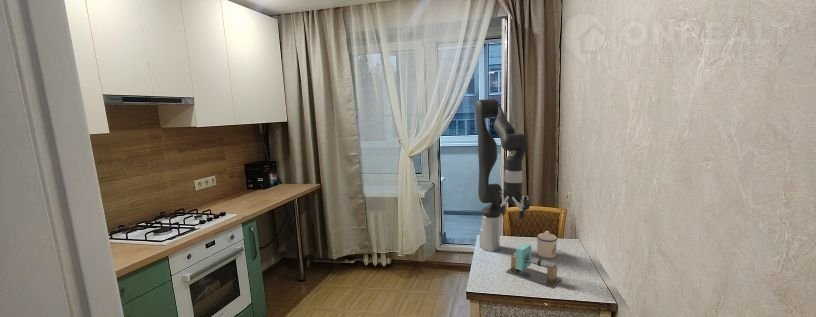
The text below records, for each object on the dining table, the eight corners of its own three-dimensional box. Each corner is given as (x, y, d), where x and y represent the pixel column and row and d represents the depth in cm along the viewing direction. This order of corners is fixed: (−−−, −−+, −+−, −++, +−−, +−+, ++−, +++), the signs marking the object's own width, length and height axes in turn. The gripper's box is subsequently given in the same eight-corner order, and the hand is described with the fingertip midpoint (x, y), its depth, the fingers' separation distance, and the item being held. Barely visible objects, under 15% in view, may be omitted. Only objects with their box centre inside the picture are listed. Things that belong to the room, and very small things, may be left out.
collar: (515, 268, 154) (516, 248, 153) (524, 262, 160) (524, 243, 158) (522, 270, 152) (522, 250, 151) (530, 264, 158) (531, 244, 156)
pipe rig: (506, 272, 157) (506, 254, 156) (516, 265, 163) (516, 248, 162) (551, 288, 143) (552, 267, 142) (561, 280, 149) (561, 260, 148)
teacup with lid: (556, 259, 169) (557, 235, 168) (535, 256, 173) (536, 233, 171) (556, 250, 180) (557, 227, 178) (537, 247, 184) (538, 225, 182)
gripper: (493, 179, 157) (493, 215, 159) (524, 184, 147) (523, 222, 150) (502, 176, 162) (502, 211, 165) (533, 181, 152) (531, 218, 155)
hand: (512, 216), depth 157 cm, fingers open, 8 cm apart
